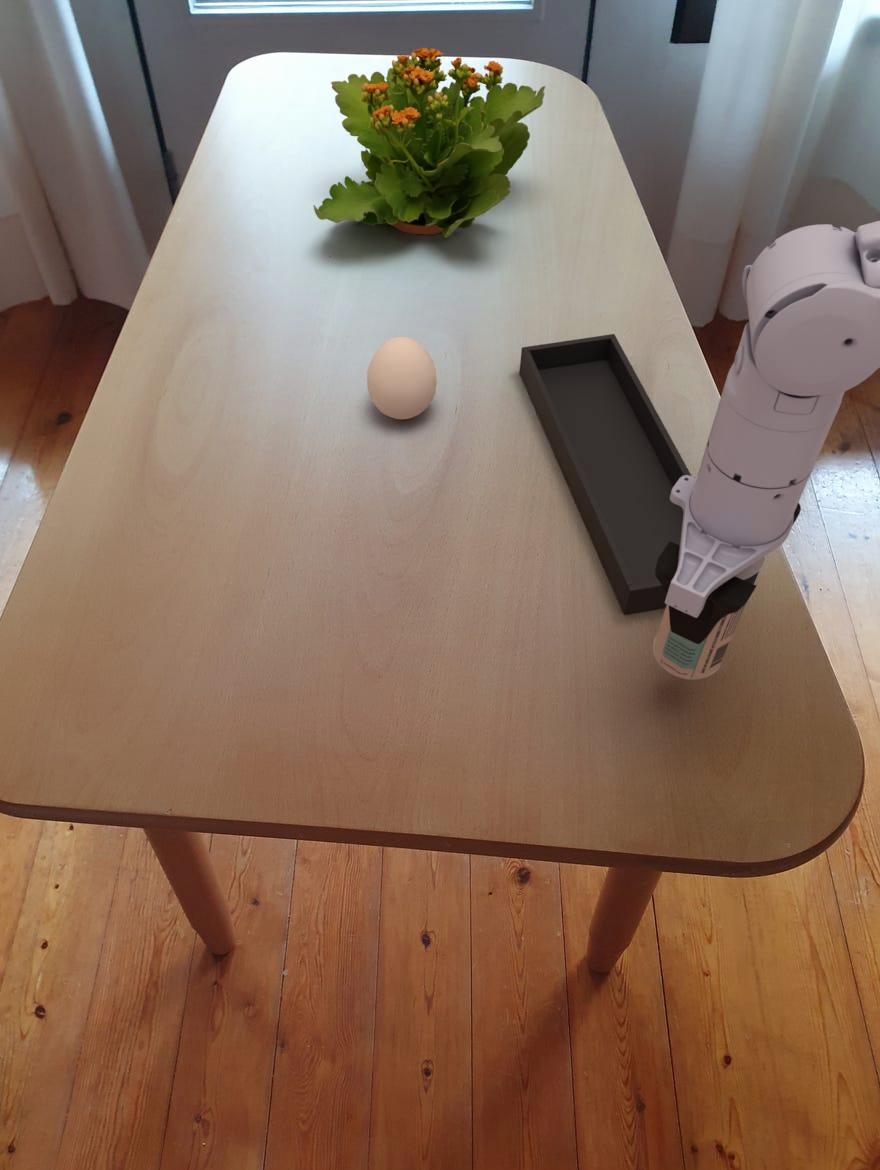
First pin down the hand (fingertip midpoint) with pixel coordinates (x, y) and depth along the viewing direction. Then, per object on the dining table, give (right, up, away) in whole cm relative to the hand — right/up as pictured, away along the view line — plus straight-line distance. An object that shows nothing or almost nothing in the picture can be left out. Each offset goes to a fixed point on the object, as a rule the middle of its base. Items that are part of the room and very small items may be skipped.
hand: (703, 607), depth 64 cm
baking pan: (-1, +13, +22) cm, 26 cm away
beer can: (0, -3, +5) cm, 6 cm away
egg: (-20, +19, +28) cm, 39 cm away
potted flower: (-16, +47, +49) cm, 70 cm away
